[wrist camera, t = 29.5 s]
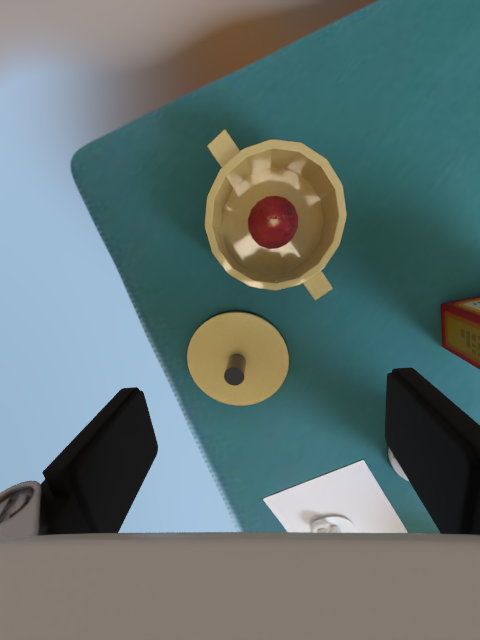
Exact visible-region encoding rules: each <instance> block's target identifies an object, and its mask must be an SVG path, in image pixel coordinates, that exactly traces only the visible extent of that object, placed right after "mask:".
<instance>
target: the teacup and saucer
mask: <svg viewBox="0 0 480 640" xmlns="http://www.w3.org/2000/svg"><path fill="white" fill-rule="evenodd" d="M309 530H310V532H317V533H357V528H356V526H355V524H354V523H353V522H352V521H351V520H349V519H348V518H346V517H343V516H338V515H330V516H325V517H323V518H321V519H316V520H314V521H313V522H312V523H311V524H310V527H309Z"/></svg>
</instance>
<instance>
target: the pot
mask: <svg viewBox="0 0 480 640" xmlns="http://www.w3.org/2000/svg"><path fill="white" fill-rule="evenodd" d="M207 147H208V149H209V151H210V152H211V153H212V155H213V156H214V158H215V159H216V161H217V162H218V163H219V165H220V166H221V169H220V171H219V173H218V175H217V177H216V179H215V181H214V183H213V185H212V188H211V190H210V192H209V194H208V196H207V204H206V216H205V229H206V233H207V236H208V240H209V243H210V247H211V250H212V253H213V254H214V256H215V257H216V258H217V260H218V261H219V262H220V264H221V265H222V266H223V268H224V269H225V270H226V272H227V273H228V274H229V275H231V276H233V277H234V278H236V279H238V280H240V281H241V282H243V283H245V284H246V285H248V286H251V287H255V288H261V289H268V290H280V289H284V288H288V287H292V286H296V285H300V284H302V283H303V284H304V286H305V287H306V289H307V290H308V292H309V293H310V294H311V296H312V297H313V299H314V300H317V299H318V298H320V297H321V296H323V295H324V294H326V293H327V292H329V291H330V290H331V289H333V287H332V286H331V284H330V283H329V281H328V280H327V279H326V277H325V276H324V274H323V273H322V271H321V270H322V269H323V268H324V267H325V266H326V264H327V263H328V261H329V260H330V258H331V257H332V255H333V254H334V252H335V251H336V250H337V248H338V247H339V244H340V242H341V238H342V234H343V229H344V225H345V221H346V217H347V216H346V215H347V213H346V206H345V199H344V192H343V186H342V183H341V182H340V180H339V178H338V177H337V175H336V173H335V172H334V170H333V168H332V167H331V165H330V164H329V162H328V160H327V159H326V158H324V157H323V156H321V155H320V154H318V153H316V152H315V151H313V150H312V149H310V148H309V147H307V146H306V145H304V144H303V143H299V142H291V141H283V140H275V139H271V140H268V141H265V142H262V143H259V144H256V145H253V146H250V147H247V148H244V149H242V150H241V151H240V150H239V149H238V147H237V146H236V144H235V143H234V141H233V140H232V138H231V137H230V135H229V134H228V132H227V131H226V130H225V129H224V130H223V131H222V132H221V133H220V134H219V135H218V136H217V137H216V138H215V139H214V140H213V141H212V142H211V143H210V144H209V145H208V146H207ZM269 196H280V197H283V198H286V199H287V200H289V201H290V202H291V203H292V204H293V205H294V206H295V209H296V212H297V215H298V229H297V231H296V233H295V235H294V237H293V238H292V239H291V240H290V241H289V242H288V243H287V244H286V245H284V246H282V247H280V248H275V249H267V248H265V247H262V246H260V245H258V244H257V243H256V242H255V241H254V240H253V239H252V236H251V234H250V232H249V230H248V218H249V215H250V212H251V209H252V208H253V207H254V206H255V205H256V204H257V202H259V201H260V200H262V199H264V198H265V197H269Z"/></svg>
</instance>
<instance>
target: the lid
mask: <svg viewBox="0 0 480 640" xmlns="http://www.w3.org/2000/svg"><path fill="white" fill-rule="evenodd" d="M187 361H188V367H189V371H190V373H191V376H192V378H193V379H194V381H195V383H196V384H197V385H198V387H199V388H200V389H201V390H202V391H203V392H204V393H206V394H207V395H208V396H210V397H212V398H213V399H215V400H217V401H219V402H222V403H225V404H230V405H251V404H255V403H258V402H261V401H263V400H265V399H267V398H268V397H270V396H271V395H273V394H274V393H275V392H276V391H277V390H278V389H279V388H280V386H281V385H282V383H283V382H284V380H285V378H286V375H287V372H288V367H289V355H288V350H287V346H286V343H285V341H284V339H283V337H282V336H281V334H280V333H279V332H278V330H277V329H276V328H275V327H274V326H273V325H272V324H270V323H269V322H268V321H266V320H265V319H263V318H261V317H259V316H256V315H254V314H250V313H246V312H227V313H222V314H219V315H216V316H214V317H212V318H210V319H209V320H207V321H205V322H204V323H203V324H202V325H201V326H200V327H199V328H198V329H197V330H196V332H195V333H194V335H193V336H192V339H191V341H190V343H189V347H188V352H187Z"/></svg>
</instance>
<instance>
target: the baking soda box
mask: <svg viewBox="0 0 480 640" xmlns="http://www.w3.org/2000/svg"><path fill="white" fill-rule="evenodd" d="M441 320H442V345H443V348H445V349H447V350H448V351H450V352H452V353H453V354H455V355H457V356H458V357H460V358H462V359H463V360H465V361H467V362H468V363H470V364H472V365H473V366H475V367H477V368H478V369H480V296H479V297H474V298H469V299H464V300H459V301H454V302H449V303H444V304H441Z"/></svg>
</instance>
